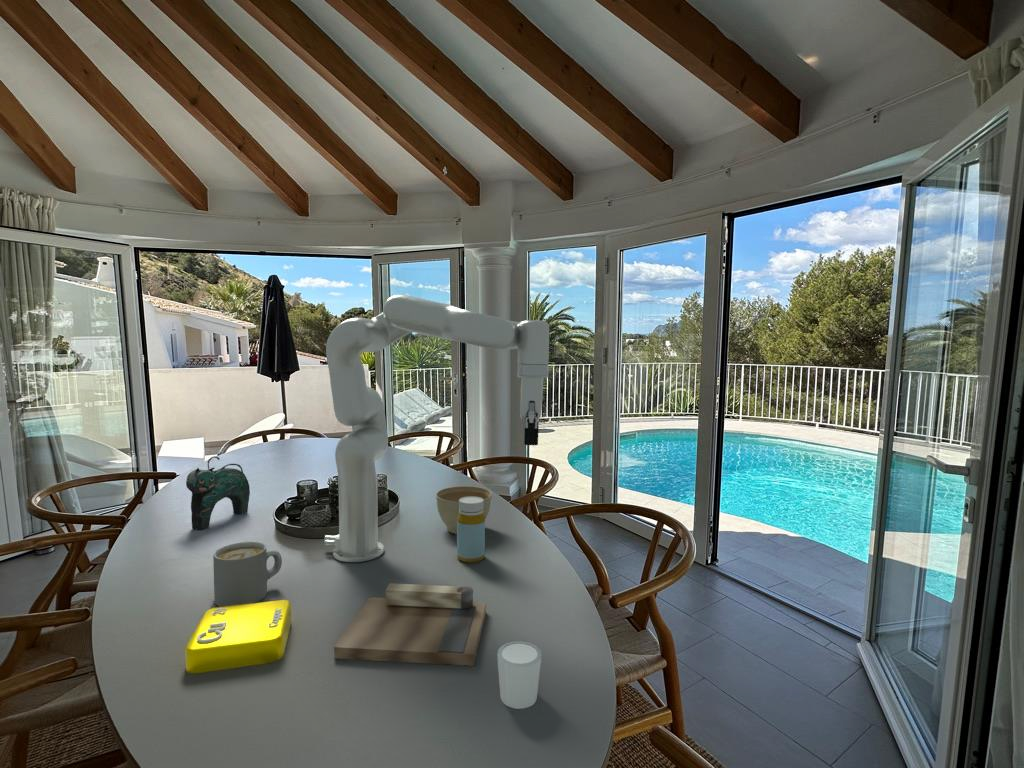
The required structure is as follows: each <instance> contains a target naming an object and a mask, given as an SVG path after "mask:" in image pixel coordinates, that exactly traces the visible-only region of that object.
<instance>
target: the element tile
mask: <svg viewBox="0 0 1024 768" xmlns="http://www.w3.org/2000/svg"><path fill="white" fill-rule="evenodd" d="M291 625H292V605H291V602H290V601H289V600H287V599H280V600H271V601H270V600H269V601H264V602H255V603H252V604H243V605H235V606H226V607H220V606H218V607H212V608H210V609H207V611H205V612H204V613H203V614H202V616H201V617H200V620H199V622H198V623H197V625H196V627H195V629H194V630H193V632H192V634H191V636H190V638H189V639H188V641H187V643H186V645H185V648H184V650H185V651H184V652H185V653H184V654H185V659H184V660H185V671H186V673H188V674H200V673H207V672H208V673H209V672H215V671H222V670H230V669H235V668H242V667H243V668H244V667H250V666H257V665H263V664H270V663H274V662H276V661H279V660H280V659H282V658H283V657H284V655H285V652H286V649H287V648H286V647H287V643H288V638H289V634H290V630H291Z"/></svg>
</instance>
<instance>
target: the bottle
mask: <svg viewBox="0 0 1024 768" xmlns="http://www.w3.org/2000/svg"><path fill="white" fill-rule="evenodd" d="M483 508H484V500H483V499H482V498H480V497H473V496H470V497H463V498H460V499H459V514H458V517H457V534H456V557H457V558H458V559H459V561H460V560H461V561H460V562H462V561H463V563H467V562H469V563H468V564H470V562H474V563H478V562H480V561H482V560H483V559H484V558H485V555H486V550H485V549H486V545H485V544H486V519H485V516H484V513H483Z"/></svg>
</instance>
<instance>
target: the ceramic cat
mask: <svg viewBox="0 0 1024 768" xmlns="http://www.w3.org/2000/svg"><path fill="white" fill-rule="evenodd" d="M214 458H215V459H217V460H218V461H220V457H218V456H212V457H211V456H210V458H209V459H208V460H207V469H200V468H199V467H197V468H196V469H193V470H192V471H190V473H189V474H188V475H187V477H186V481H185V484H186V485H185V486H186V488H187V489H188V490H189V491H190V492H191V502H190V510H191V528H192V530H198V531H203V530H206V529H207V528H208V529H209V527H210V523H211V516H212V513H213V511H214V508H215V506H216V505H217V503H218V502H220V501H221V500H223V499H224V498H227V499H228V500H230V501H231V505H232V509H233V511H232V513H233V515H238V516H240V515H241V516H242V515H245V514H247V513H248V512H249V502H250V495H251V493H250V492H251V491H250V490H251V489H250V484H249V480H248V479H247V476H246V474H245V473H244V470H243V468H242V466H241V465H240V464H239V463H228V464H226V465H224V466H223V467H220V468H218V469H216V468H215V467H211V468H210V461H212V459H214ZM228 466H236V467H238V468H239V469H240V470H239V469H238V468H230V467H228ZM214 469H216V470H214Z"/></svg>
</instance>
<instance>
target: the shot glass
mask: <svg viewBox="0 0 1024 768" xmlns="http://www.w3.org/2000/svg"><path fill="white" fill-rule="evenodd" d="M542 654H543V653H542V651H541V649H540V648H539V646H537V645H535V644H534V643H531V642H527V641H519V640H518V641H517V640H516V641H509V642H508V643H505V644H503V645H501V646H500V647H499V648H498V649H497V654H496V659H497V672H498V681H499V682H498V685H499V696H500V699H501V702H502V703H503V704H504V705H505V706H507V707H509V708H512V709H517V710H518V709H519V710H522V709H528V708H529V707H531V706H534V704H535V703H536V702H537V699H538V698H537V697H538V692H539V691H538V689H539V682H540V681H539V680H540V672H541V665H542V664H541V663H542Z"/></svg>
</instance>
